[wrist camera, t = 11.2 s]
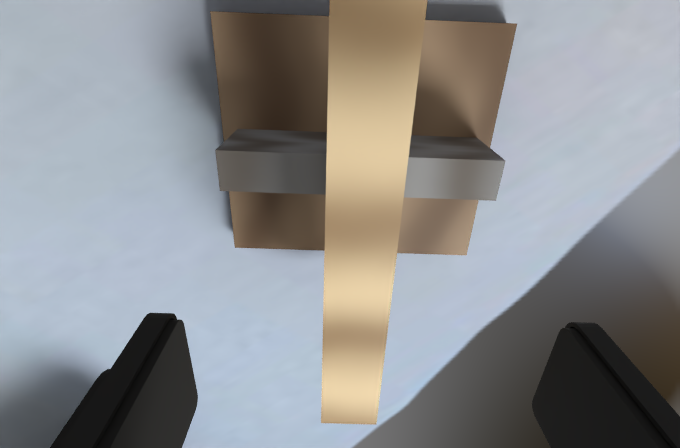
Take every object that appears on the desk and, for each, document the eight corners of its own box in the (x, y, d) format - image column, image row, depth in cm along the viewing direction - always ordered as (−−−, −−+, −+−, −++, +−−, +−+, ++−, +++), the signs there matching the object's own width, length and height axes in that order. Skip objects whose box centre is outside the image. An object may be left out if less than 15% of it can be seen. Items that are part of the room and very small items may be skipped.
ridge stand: (239, 237, 31) (215, 286, 25) (217, 12, 24) (177, 7, 18) (461, 245, 31) (488, 295, 25) (507, 24, 24) (559, 23, 18)
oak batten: (336, -125, 16) (333, -203, 10) (414, -122, 16) (451, -198, 10) (325, 346, 28) (321, 422, 22) (369, 347, 28) (376, 424, 22)
